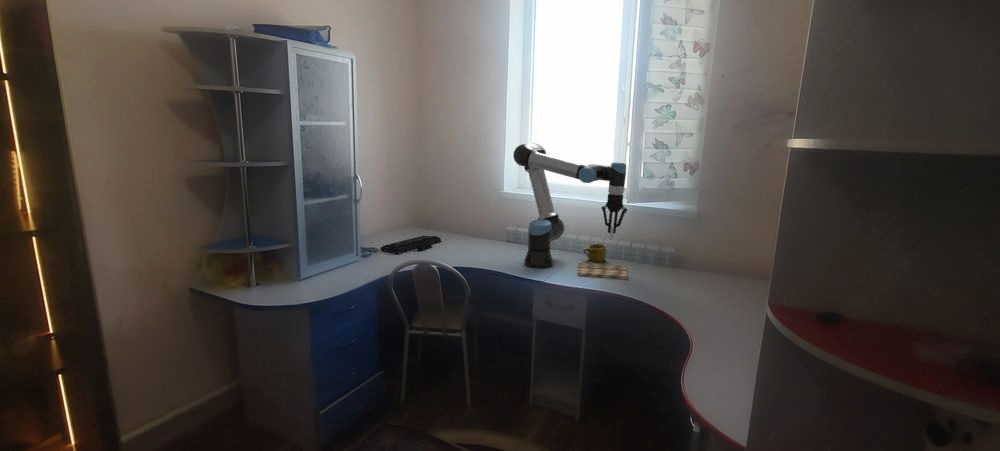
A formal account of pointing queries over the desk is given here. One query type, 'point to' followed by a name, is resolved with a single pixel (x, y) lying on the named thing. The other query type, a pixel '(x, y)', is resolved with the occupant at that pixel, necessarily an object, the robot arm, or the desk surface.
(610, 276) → the floor strip
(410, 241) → the black gun
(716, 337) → the desk surface
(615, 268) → the plank
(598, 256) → the mug
